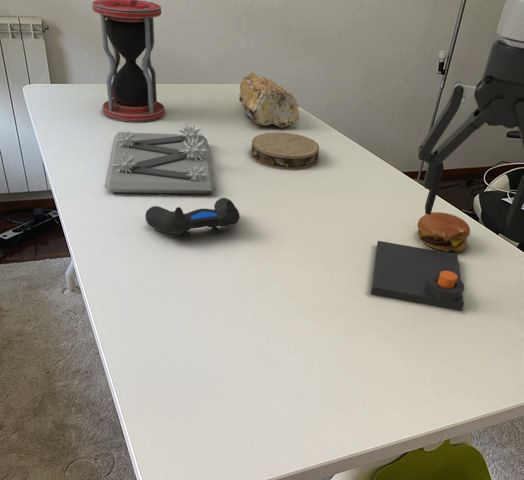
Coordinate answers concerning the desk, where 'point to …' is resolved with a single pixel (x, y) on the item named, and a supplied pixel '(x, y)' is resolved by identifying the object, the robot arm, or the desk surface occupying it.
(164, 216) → the gaming controller
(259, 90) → the petrified wood
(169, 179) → the decorative plate
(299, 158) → the wood log slice
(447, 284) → the button
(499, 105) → the robot arm
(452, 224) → the burger
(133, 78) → the hourglass
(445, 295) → the scale
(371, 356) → the desk surface
